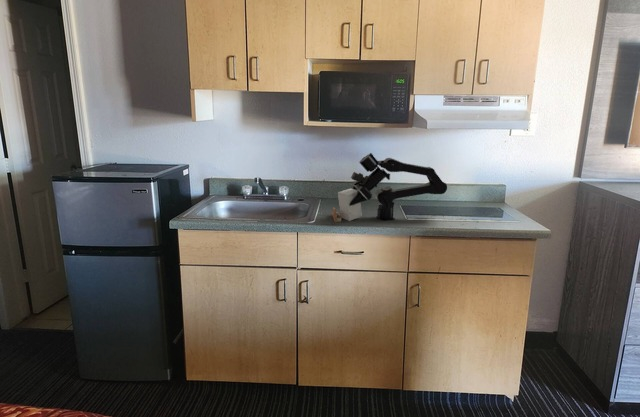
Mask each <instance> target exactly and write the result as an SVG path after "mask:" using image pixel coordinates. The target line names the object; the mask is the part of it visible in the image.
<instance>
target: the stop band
mask: <svg viewBox="0 0 640 417" xmlns="http://www.w3.org/2000/svg"><path fill="white" fill-rule="evenodd" d="M339 216H340V215H339V212H337V211H336V208H335V207H332V217H333V220H334V222H335V223H337V222H338V223H339V222H342V218H341V217H339Z"/></svg>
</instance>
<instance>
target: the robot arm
mask: <svg viewBox="0 0 640 417" xmlns="http://www.w3.org/2000/svg"><path fill="white" fill-rule="evenodd" d="M358 163H359V164H360V165H361V166H362V167H363V168H364V170H365V171H366V172H370V174H369V175H365V176H364V174H363V173H361V172H359V173H357V172H356V171H354V172H352V175H351V177H350V178H351V179H352V180H353V181H354V182H352V189H354V190H357V195H356V196H355V197H354V198H353V200H352V201H351V202H350V205H354V204H357V203H360V202H361V203H362V202H365V201H369V200H371V199H372V198H373V194H372V192H371V191H372V190H374V188H378V185H379V184H380V183H381V182H382V181H384V179H385V178H386V179H387V181H389V180H391V173H400V172H401V173H402V172H403V173H409V174H416V175H420V176H426V178H427V180H428V182H426V183H425V184H420V185H413V186H409V187H408V186H407V187H402V188H396V189H393V188H392V187H391V186H386V187H383V186H382V187H380V188H379V189H377V190H376V192H375V193H374V194H375V195H374V196H375V199H376V200H377V202H379V205H378V208H377V213H376V214H377V215H376V216H375V217H376V218H377V219H379V220H382V221H390V220H391V221H392V220H395V219H396V218H395V217H394V208H395V202H394V201H395V200H397V199H401V198H408V197H413V196H421V195H427V194H428V195H429V194H430V195H444V194H445V193H446V192H447V190H448V186H447V183H446V182H444V181H443V180H442V179H441V177H440V176H439V175H438V174H437V172H436V171H435V169H434V168H432V167H431V166H422V165H416V164H411V163H405V162H403V161H399V160H398V159H395V158H392V157H386V158H385V159H384V160H378V159H377V158H376V157H375V156H374V155H373V153H372V152H370V153H368V154H367V155H366V156H364V157H363V158H361V159H360V160H359V162H358ZM381 168H382V169H381ZM387 172H390V173H387Z"/></svg>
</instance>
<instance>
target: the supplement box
mask: <svg viewBox="0 0 640 417" xmlns="http://www.w3.org/2000/svg"><path fill="white" fill-rule="evenodd" d="M356 195H357V190H354V189H353V188H348V189H344V190H342V191H337V198H338V204H339V212H340V218H341V219H343V220H347V221H348V222H351V221H353V220H356V219H358V218H362V217H363V214H362V202H360V203H357V204H354V205H350V202H351V201H352V200H353V198H354V197H355V196H356Z"/></svg>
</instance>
